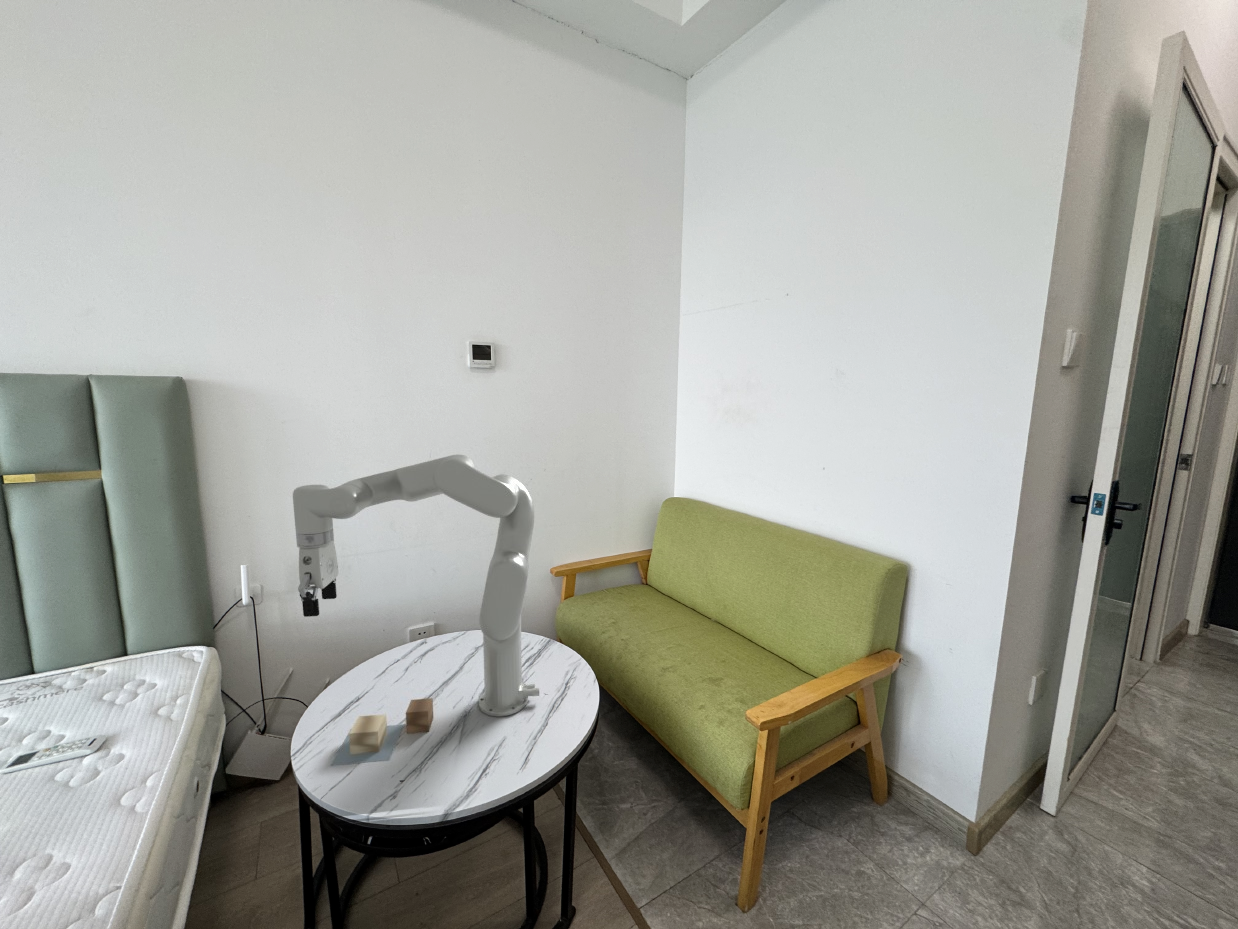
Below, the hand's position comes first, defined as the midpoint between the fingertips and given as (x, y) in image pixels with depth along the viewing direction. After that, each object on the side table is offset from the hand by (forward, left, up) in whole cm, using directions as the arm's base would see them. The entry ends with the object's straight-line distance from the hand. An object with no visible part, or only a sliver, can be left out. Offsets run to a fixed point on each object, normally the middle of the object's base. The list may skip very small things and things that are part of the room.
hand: (320, 606), depth 120 cm
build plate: (-13, +12, -29) cm, 34 cm away
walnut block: (-23, +7, -29) cm, 38 cm away
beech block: (-13, +12, -28) cm, 33 cm away
